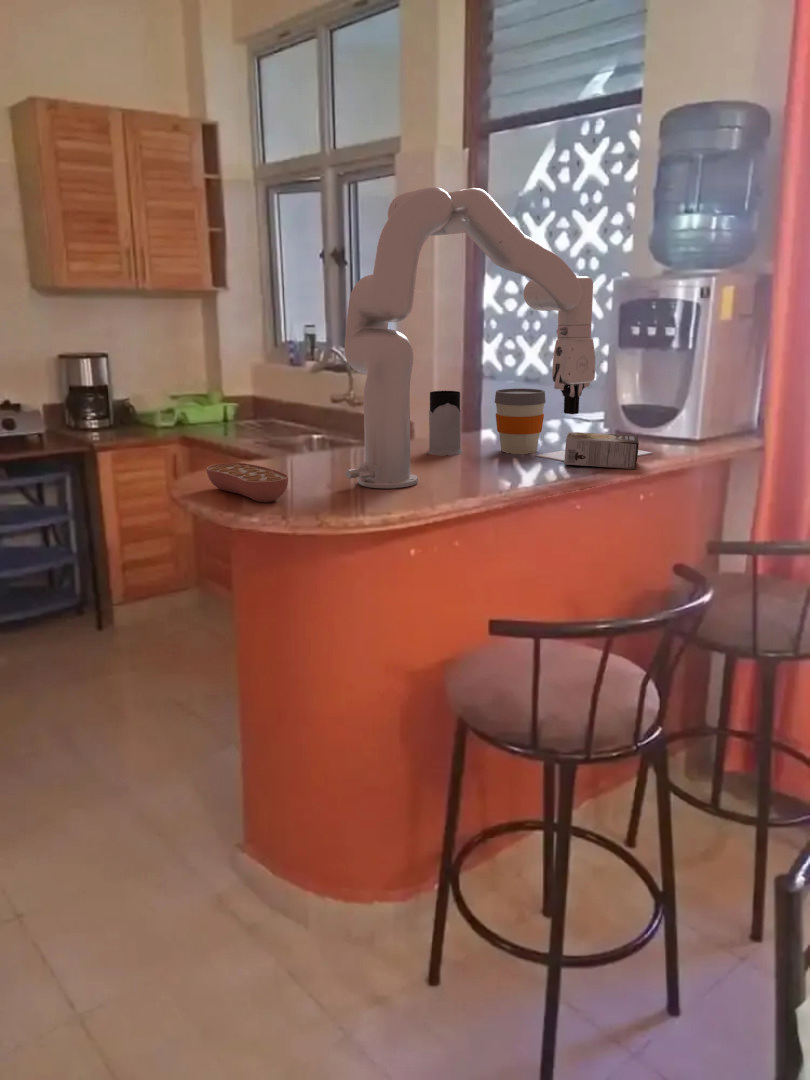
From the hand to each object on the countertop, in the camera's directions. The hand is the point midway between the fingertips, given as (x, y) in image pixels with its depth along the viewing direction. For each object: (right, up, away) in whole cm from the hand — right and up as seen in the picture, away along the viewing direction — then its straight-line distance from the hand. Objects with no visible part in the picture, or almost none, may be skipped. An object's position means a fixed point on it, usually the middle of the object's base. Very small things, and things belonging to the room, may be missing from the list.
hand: (571, 413), depth 204 cm
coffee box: (-2, -8, -2) cm, 9 cm away
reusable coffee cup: (-10, -7, +16) cm, 20 cm away
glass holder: (-29, -7, +18) cm, 35 cm away
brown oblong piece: (-70, -21, -28) cm, 78 cm away
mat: (+7, -9, +10) cm, 15 cm away
